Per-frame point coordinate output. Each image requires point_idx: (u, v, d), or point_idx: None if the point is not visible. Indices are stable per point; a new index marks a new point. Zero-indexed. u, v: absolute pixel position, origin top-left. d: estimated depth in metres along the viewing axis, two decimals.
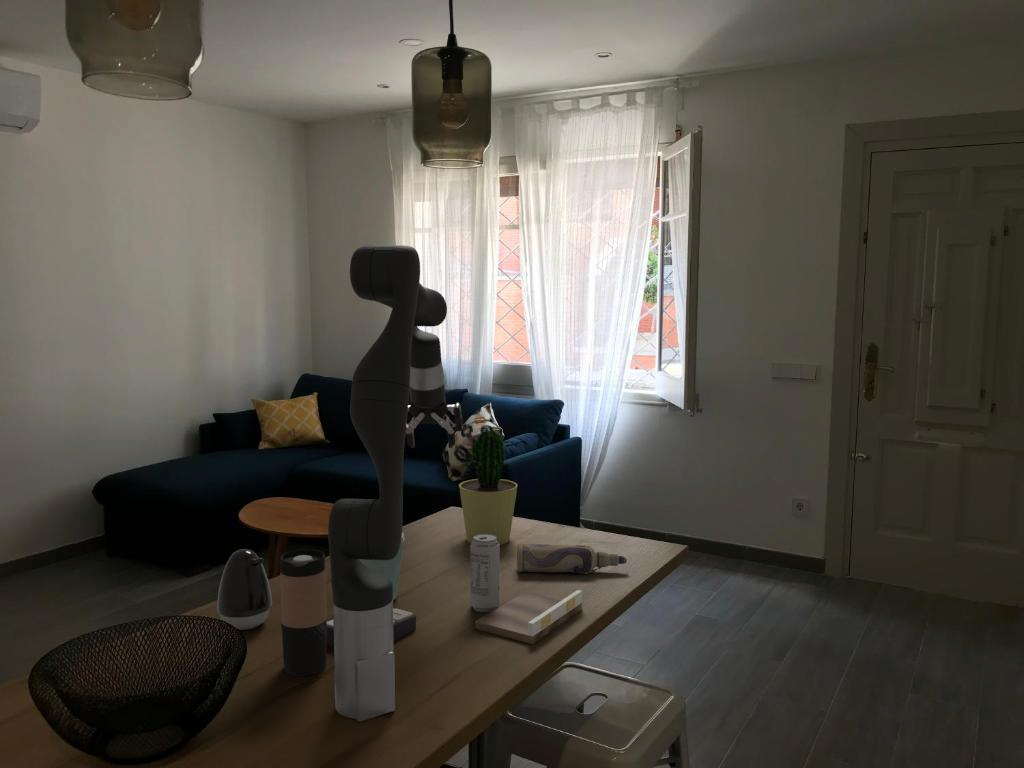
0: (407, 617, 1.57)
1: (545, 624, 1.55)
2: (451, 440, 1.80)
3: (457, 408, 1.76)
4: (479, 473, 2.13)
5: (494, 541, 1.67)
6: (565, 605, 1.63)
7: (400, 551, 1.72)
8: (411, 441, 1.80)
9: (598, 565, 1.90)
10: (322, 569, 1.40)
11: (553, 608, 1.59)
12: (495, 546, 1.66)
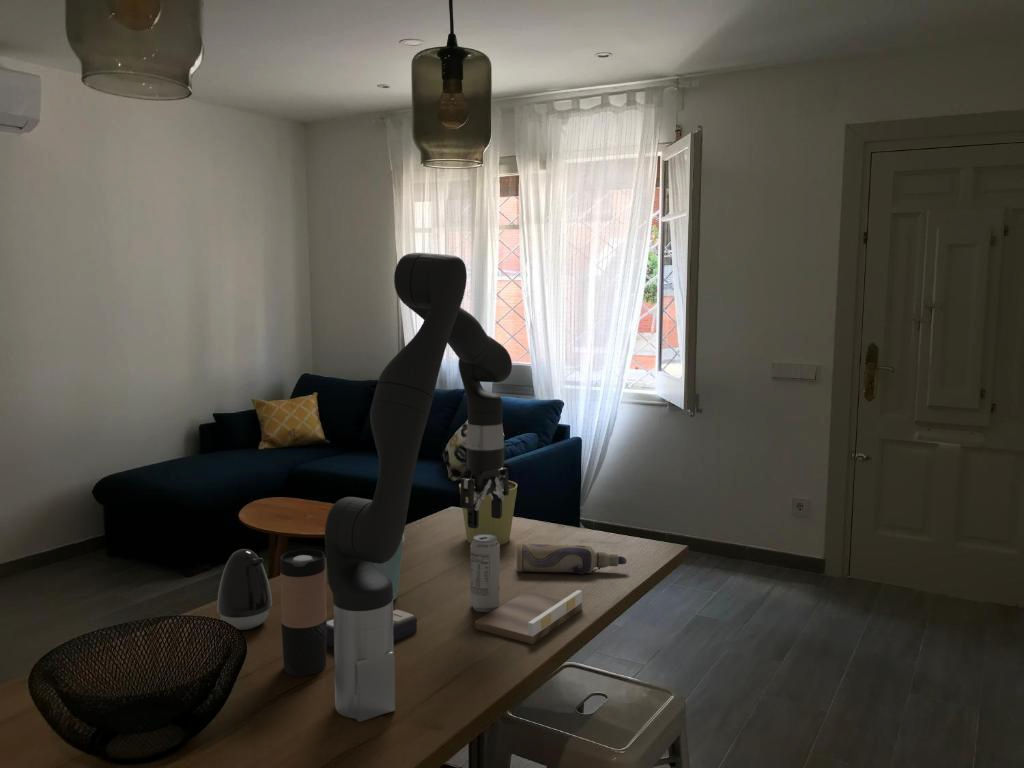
0: (407, 619, 1.56)
1: (545, 624, 1.55)
2: None
3: (507, 469, 1.71)
4: None
5: (494, 541, 1.67)
6: (565, 605, 1.63)
7: (400, 551, 1.72)
8: (477, 519, 1.63)
9: (598, 565, 1.90)
10: (322, 569, 1.40)
11: (553, 608, 1.59)
12: (495, 546, 1.66)
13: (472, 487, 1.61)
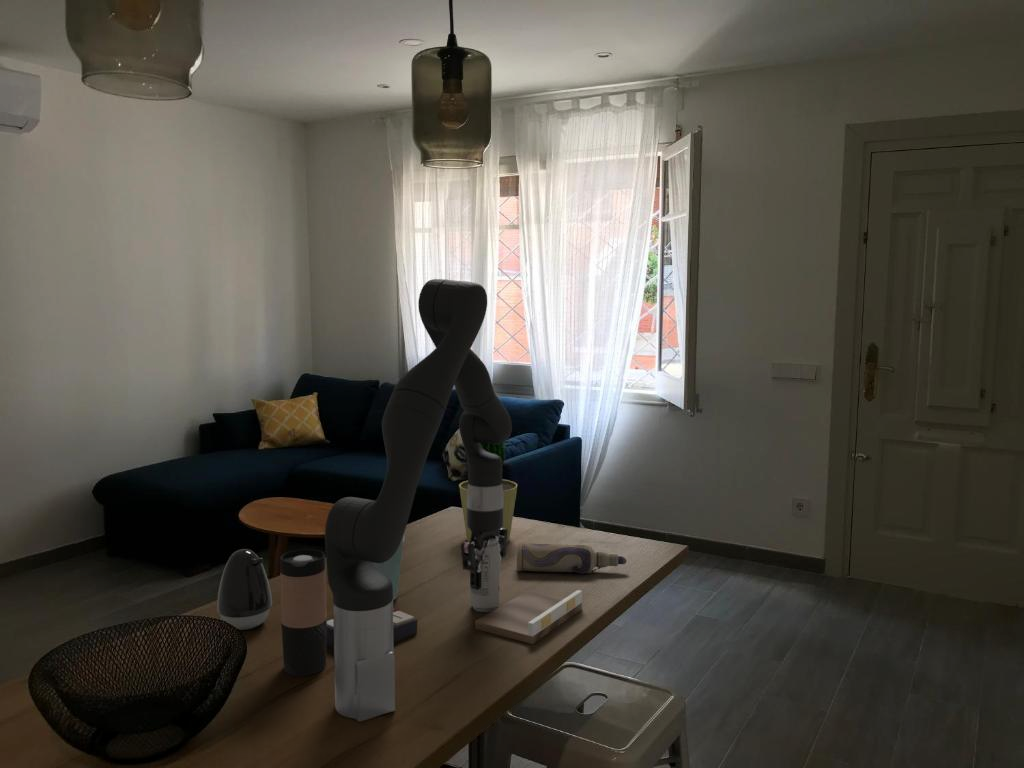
0: (407, 620, 1.55)
1: (545, 624, 1.55)
2: None
3: (506, 530, 1.73)
4: None
5: (494, 541, 1.67)
6: (565, 605, 1.63)
7: (400, 551, 1.72)
8: (480, 580, 1.66)
9: (597, 565, 1.90)
10: (322, 569, 1.40)
11: (553, 608, 1.59)
12: (495, 546, 1.66)
13: (473, 551, 1.62)
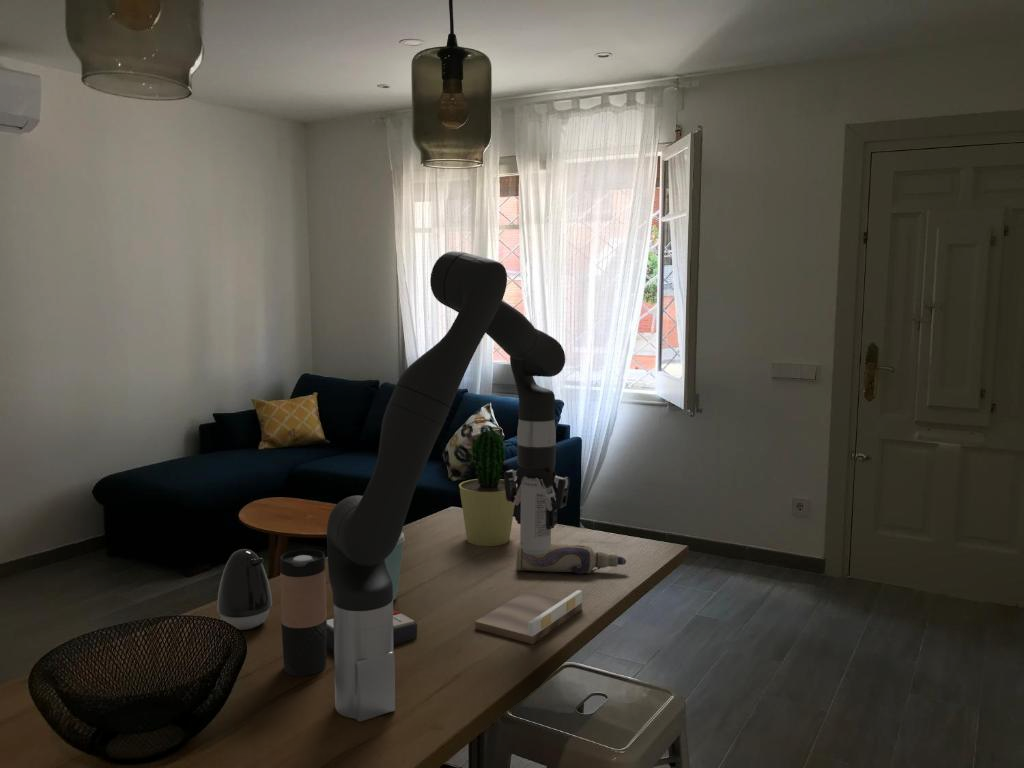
0: (406, 624, 1.54)
1: (545, 624, 1.55)
2: None
3: None
4: (479, 473, 2.13)
5: None
6: (565, 605, 1.63)
7: (400, 551, 1.72)
8: None
9: (597, 565, 1.90)
10: (322, 569, 1.40)
11: (553, 608, 1.59)
12: None
13: None
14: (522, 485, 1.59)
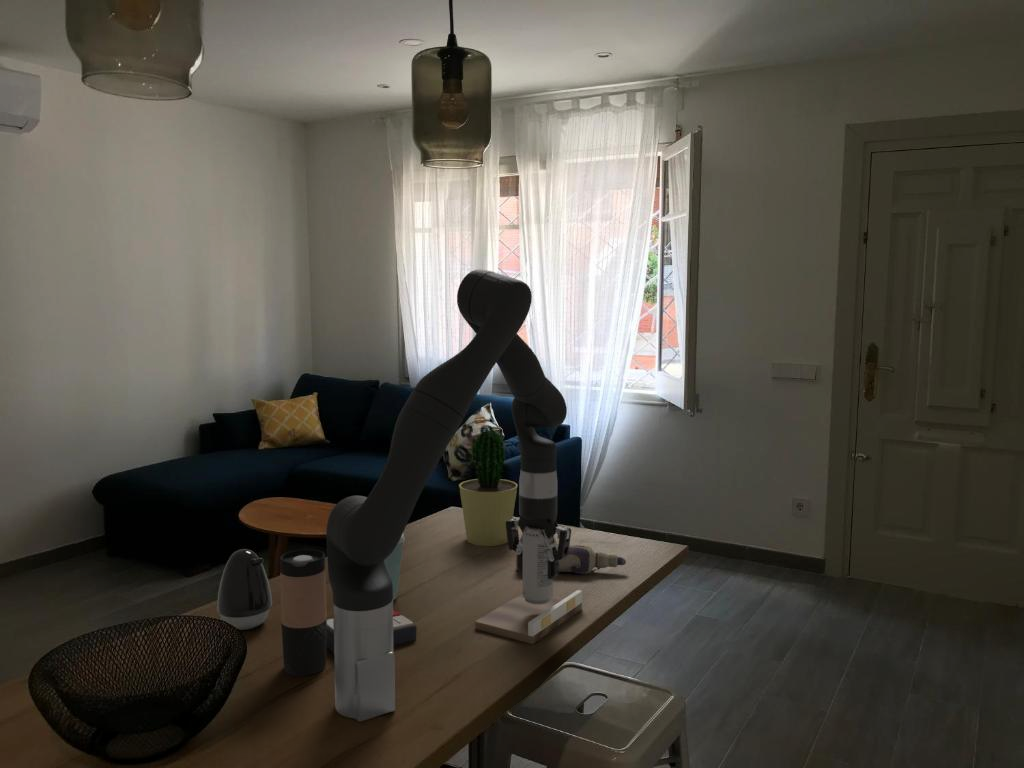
0: (405, 626, 1.53)
1: (545, 624, 1.55)
2: None
3: None
4: (479, 473, 2.13)
5: None
6: (565, 605, 1.63)
7: (400, 551, 1.72)
8: None
9: (596, 566, 1.90)
10: (322, 569, 1.40)
11: (553, 608, 1.59)
12: None
13: None
14: (524, 535, 1.60)
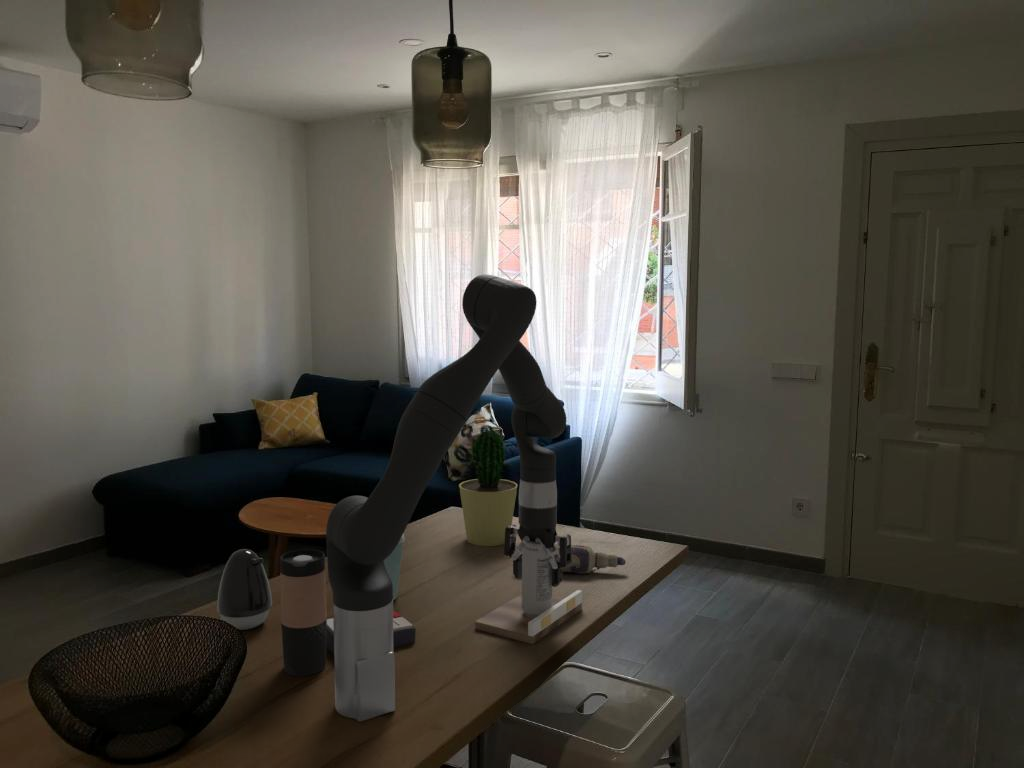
0: (404, 628, 1.52)
1: (545, 624, 1.55)
2: None
3: None
4: (479, 473, 2.12)
5: None
6: (565, 605, 1.63)
7: (400, 551, 1.72)
8: None
9: (596, 566, 1.90)
10: (322, 569, 1.40)
11: (553, 608, 1.59)
12: None
13: None
14: (523, 549, 1.60)
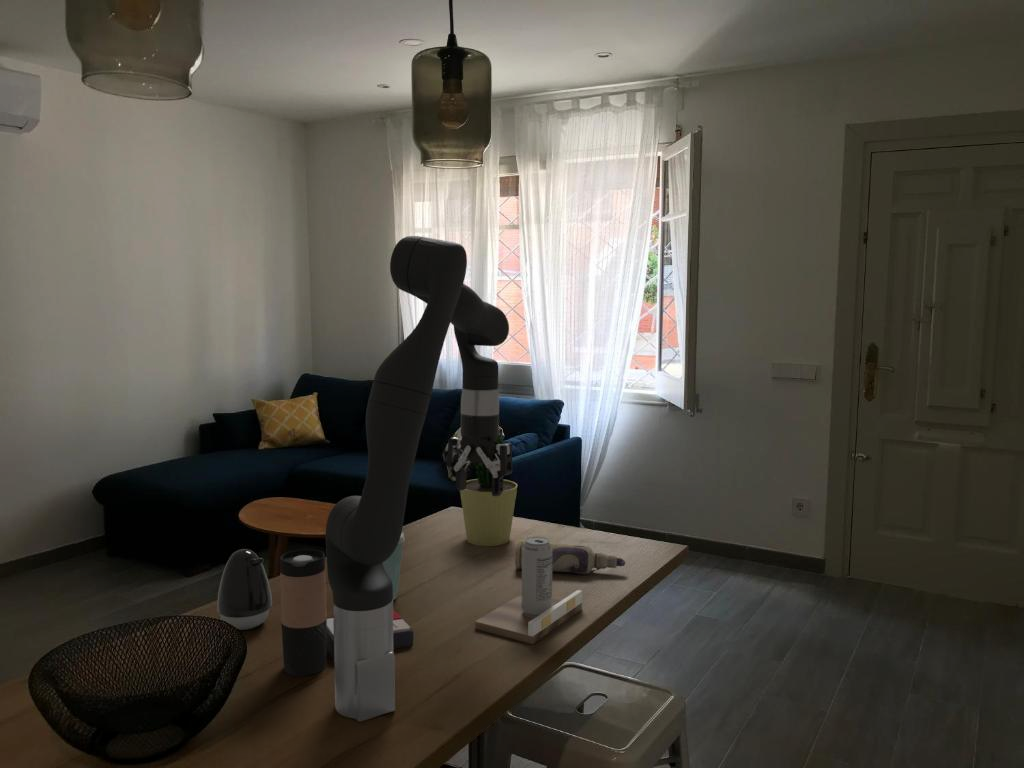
0: (401, 630, 1.51)
1: (545, 624, 1.55)
2: None
3: None
4: (479, 473, 2.13)
5: None
6: (565, 605, 1.63)
7: (400, 551, 1.72)
8: None
9: (595, 566, 1.90)
10: (322, 569, 1.40)
11: (553, 608, 1.59)
12: None
13: None
14: (523, 549, 1.60)
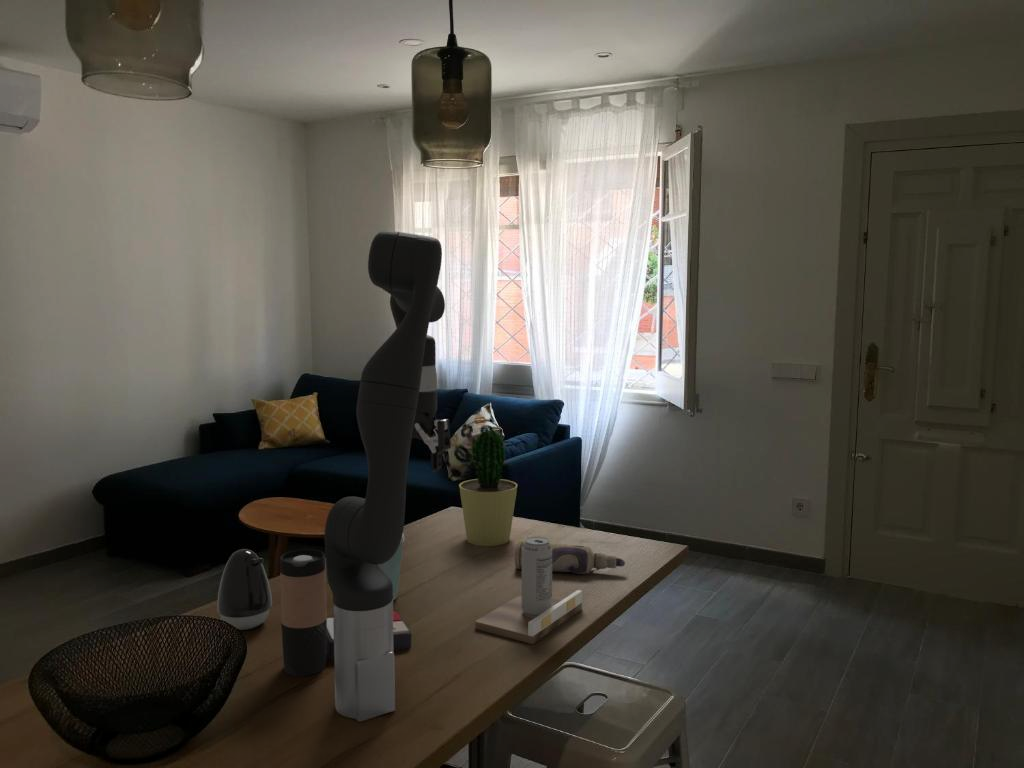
0: (399, 633, 1.50)
1: (545, 624, 1.55)
2: None
3: None
4: (479, 473, 2.12)
5: None
6: (565, 605, 1.63)
7: (400, 551, 1.72)
8: None
9: (595, 566, 1.89)
10: (322, 569, 1.40)
11: (553, 608, 1.59)
12: None
13: None
14: (523, 549, 1.60)
